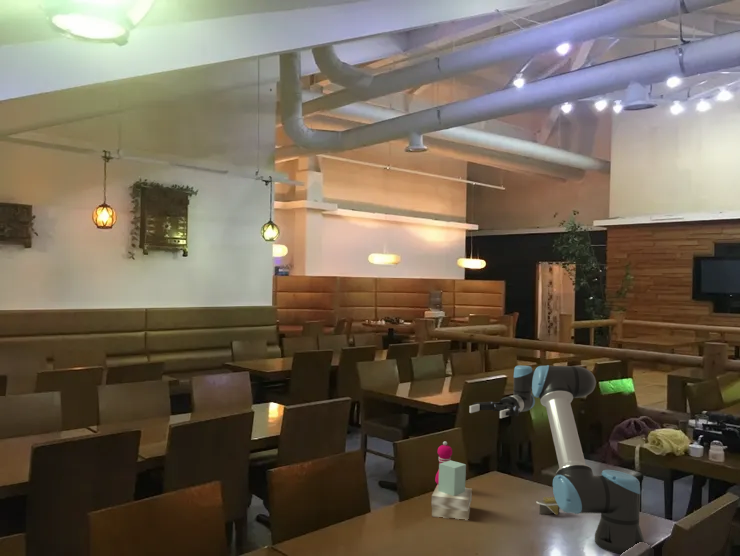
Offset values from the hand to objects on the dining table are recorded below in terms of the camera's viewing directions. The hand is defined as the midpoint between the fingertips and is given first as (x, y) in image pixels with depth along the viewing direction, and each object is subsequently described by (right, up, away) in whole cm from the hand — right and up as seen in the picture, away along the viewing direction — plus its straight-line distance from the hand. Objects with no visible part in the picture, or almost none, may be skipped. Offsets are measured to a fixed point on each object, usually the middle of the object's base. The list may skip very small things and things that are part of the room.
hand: (485, 412), depth 248 cm
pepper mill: (-16, -33, +6) cm, 37 cm away
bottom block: (-16, -34, -17) cm, 41 cm away
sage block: (-15, -26, -16) cm, 34 cm away
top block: (-15, -30, -17) cm, 38 cm away
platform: (+21, -35, -17) cm, 44 cm away
